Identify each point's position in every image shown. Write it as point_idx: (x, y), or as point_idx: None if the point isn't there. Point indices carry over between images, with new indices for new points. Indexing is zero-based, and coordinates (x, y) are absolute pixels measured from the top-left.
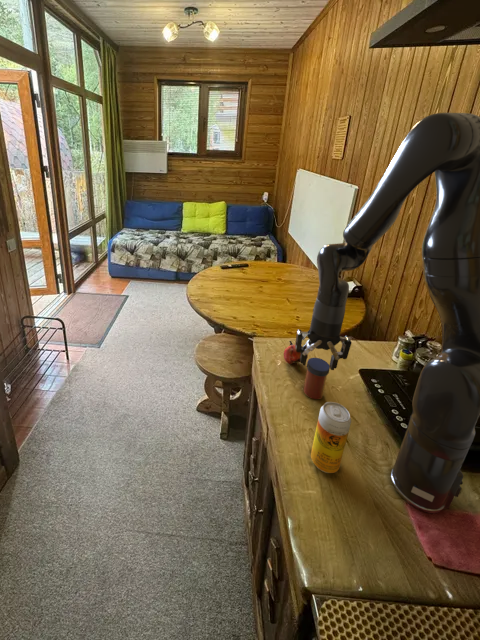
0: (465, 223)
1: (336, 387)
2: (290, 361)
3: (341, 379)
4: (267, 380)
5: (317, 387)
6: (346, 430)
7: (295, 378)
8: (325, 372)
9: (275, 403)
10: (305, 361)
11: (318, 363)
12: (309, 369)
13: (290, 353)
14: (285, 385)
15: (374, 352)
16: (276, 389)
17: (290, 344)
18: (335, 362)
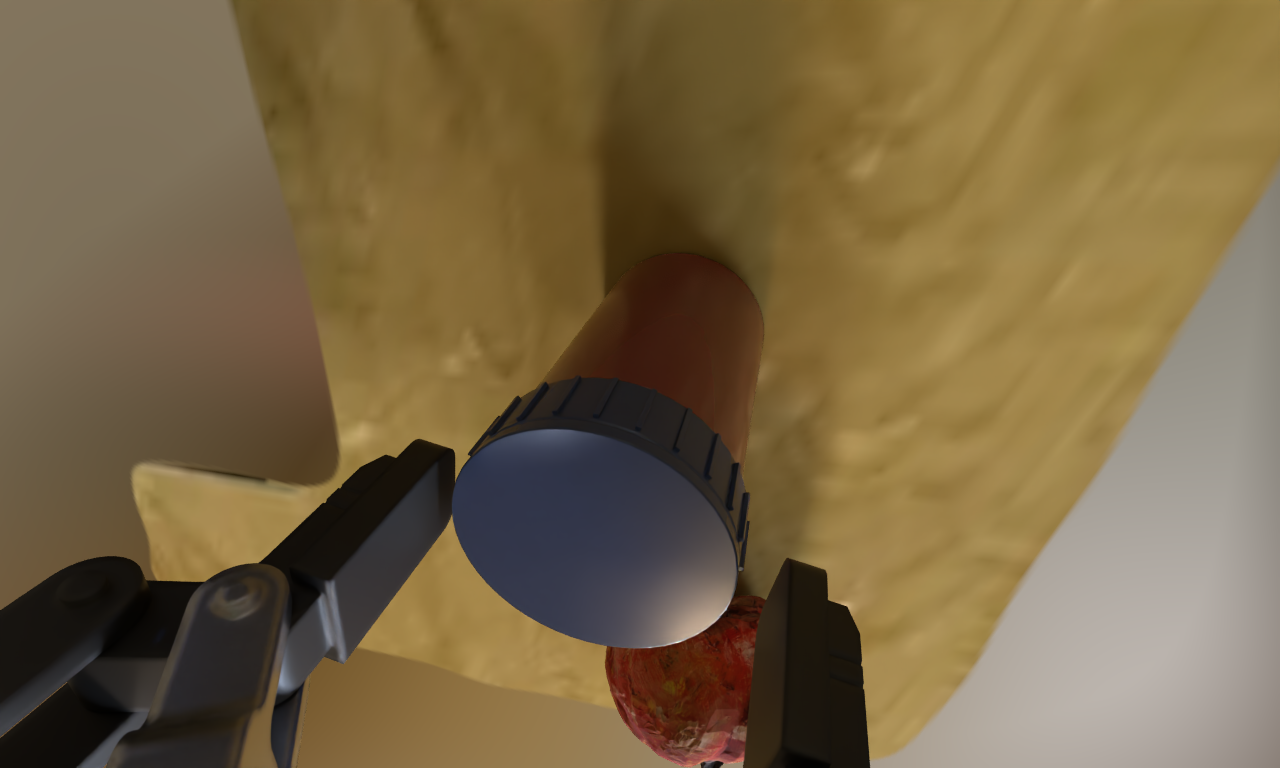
0: None
1: (479, 361)
2: None
3: (426, 425)
4: (1050, 487)
5: (670, 307)
6: None
7: (769, 474)
8: (539, 413)
9: (1165, 213)
10: (798, 629)
11: (584, 561)
12: (739, 498)
13: None
14: (901, 419)
15: (210, 573)
16: (1024, 386)
17: (719, 762)
18: (327, 530)
